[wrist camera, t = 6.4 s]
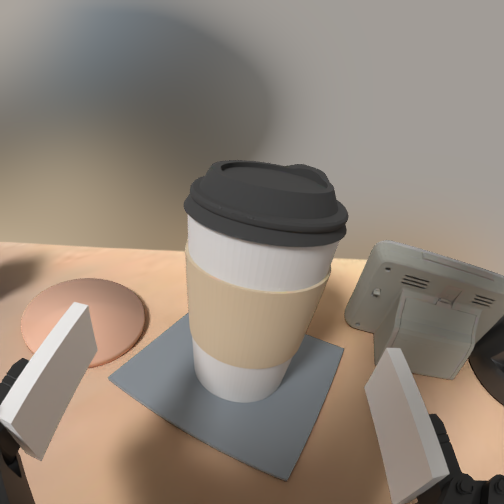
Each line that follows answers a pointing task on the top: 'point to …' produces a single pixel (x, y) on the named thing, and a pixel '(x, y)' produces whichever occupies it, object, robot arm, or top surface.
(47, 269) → the top surface
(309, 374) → the blue gray square tile
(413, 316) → the digital clock
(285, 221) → the coffee cup
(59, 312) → the terracotta coaster
